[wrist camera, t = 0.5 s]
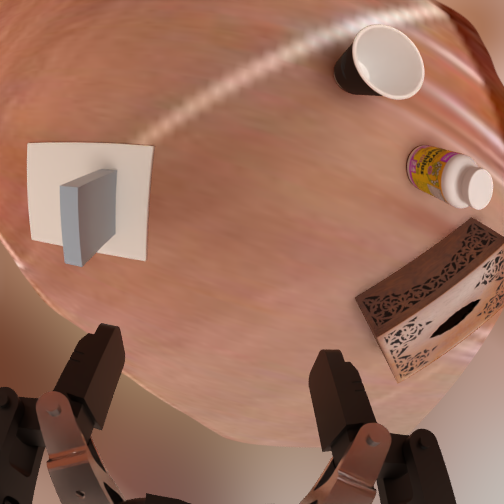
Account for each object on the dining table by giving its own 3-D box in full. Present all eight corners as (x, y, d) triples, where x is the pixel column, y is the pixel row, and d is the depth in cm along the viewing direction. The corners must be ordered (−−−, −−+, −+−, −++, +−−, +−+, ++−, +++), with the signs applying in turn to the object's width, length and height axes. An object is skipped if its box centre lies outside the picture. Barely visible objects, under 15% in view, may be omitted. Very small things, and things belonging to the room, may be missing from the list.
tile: (117, 170, 32) (77, 187, 23) (115, 233, 36) (82, 266, 27) (101, 168, 32) (59, 185, 23) (100, 231, 36) (65, 263, 27)
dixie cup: (387, 94, 29) (436, 88, 19) (339, 113, 31) (377, 110, 21) (361, 42, 26) (401, 18, 16) (310, 59, 28) (337, 33, 18)
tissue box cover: (470, 216, 37) (507, 239, 28) (478, 275, 42) (507, 301, 33) (354, 296, 43) (376, 337, 34) (378, 345, 48) (397, 383, 39)
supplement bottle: (422, 135, 32) (484, 147, 20) (445, 167, 33) (504, 189, 22) (396, 167, 34) (454, 189, 22) (421, 198, 36) (476, 229, 24)
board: (154, 145, 32) (153, 146, 31) (146, 259, 39) (145, 261, 38) (29, 142, 30) (27, 143, 29) (33, 238, 36) (31, 239, 36)
